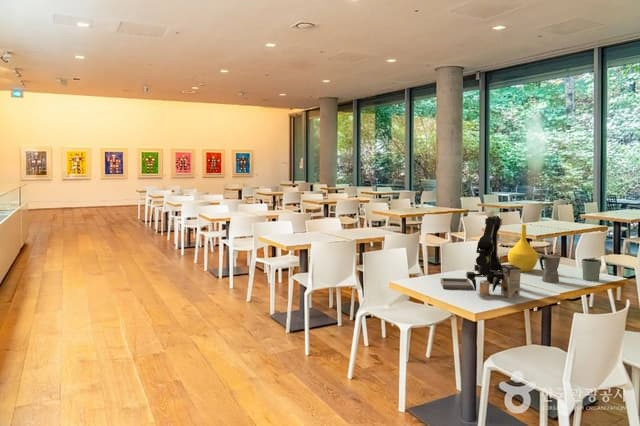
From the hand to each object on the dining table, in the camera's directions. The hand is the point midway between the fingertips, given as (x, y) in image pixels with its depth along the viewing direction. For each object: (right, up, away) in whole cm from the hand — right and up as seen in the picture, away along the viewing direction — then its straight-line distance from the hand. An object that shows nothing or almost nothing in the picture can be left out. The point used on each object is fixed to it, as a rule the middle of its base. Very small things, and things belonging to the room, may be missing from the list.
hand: (484, 291), depth 268 cm
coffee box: (+13, -2, -4) cm, 13 cm away
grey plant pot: (+73, +2, +29) cm, 79 cm away
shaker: (0, -2, 0) cm, 2 cm away
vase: (+43, +5, +55) cm, 70 cm away
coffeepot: (+47, +1, +26) cm, 54 cm away
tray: (-11, 0, +18) cm, 21 cm away
